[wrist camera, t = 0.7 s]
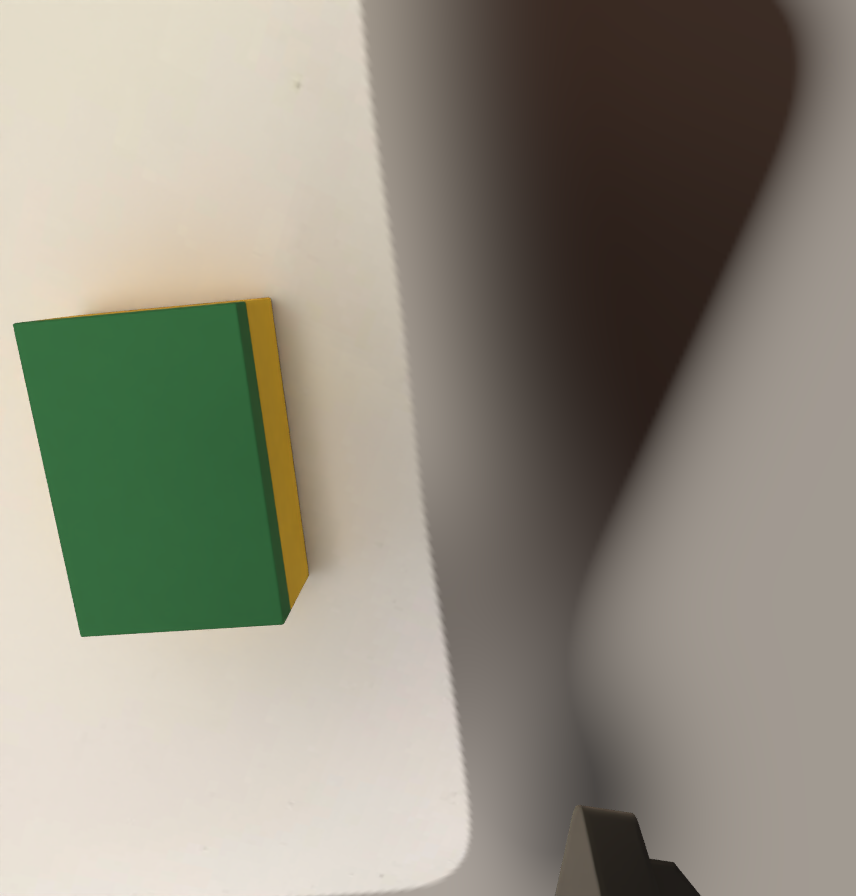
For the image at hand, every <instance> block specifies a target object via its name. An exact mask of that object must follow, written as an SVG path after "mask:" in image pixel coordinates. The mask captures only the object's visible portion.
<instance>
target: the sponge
mask: <svg viewBox="0 0 856 896" xmlns="http://www.w3.org/2000/svg"><path fill="white" fill-rule="evenodd" d="M13 327H14V332H15V337H16V341H17V346H18V350H19V355H20V360H21V364H22V369H23V373H24V378H25V383H26V387H27V392H28V396H29V401H30V405H31V410H32V415H33V419H34V424H35V428H36V433H37V438H38V442H39V447H40V451H41V456H42V461H43V465H44V470H45V474H46V479H47V483H48V488H49V493H50V497H51V502H52V506H53V511H54V516H55V520H56V525H57V529H58V534H59V539H60V543H61V548H62V552H63V557H64V561H65V566H66V571H67V575H68V580H69V584H70V589H71V594H72V598H73V603H74V607H75V612H76V617H77V621H78V626H79V630H80V635H81V637H87V636H104V635H120V634H136V633H153V632H169V631H185V630H202V629H218V628H234V627H251V626H267V625H282V624H284V623H285V621H286V619H287V617H288V615H289V613H290V611H291V609H292V607H293V605H294V603H295V601H296V599H297V597H298V595H299V593H300V591H301V589H302V587H303V585H304V584H305V582H306V580H307V578H308V576H309V572H308V565H307V557H306V550H305V543H304V536H303V529H302V521H301V514H300V507H299V500H298V492H297V485H296V478H295V471H294V463H293V456H292V449H291V442H290V435H289V427H288V420H287V413H286V406H285V398H284V391H283V384H282V377H281V369H280V362H279V355H278V348H277V340H276V333H275V326H274V319H273V312H272V304H271V299H270V298H257V299H247V300H236V301H225V302H215V303H204V304H193V305H183V306H172V307H161V308H151V309H140V310H129V311H119V312H108V313H97V314H87V315H77V316H69V317H61V318H53V319H45V320H37V321H29V322H21V323H15V324H13Z"/></svg>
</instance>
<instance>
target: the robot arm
mask: <svg viewBox="0 0 856 896" xmlns="http://www.w3.org/2000/svg"><path fill="white" fill-rule="evenodd" d="M555 896H700V894H699V893H698V892H697V891H696V889H695V888H694V887H693V886H692V885H691V883H690V882H689V881H688V879H687V878H686V877H685V876H684V875H683V873H682V872H681V871H680V870H679V868H678V867H677V866H676V865H675V863H674V862H668V861H661V860H655V859H649V856H648V853H647V850H646V846H645V843H644V840H643V837H642V834H641V830H640V827H639V824H638V821H637V818H636V817H635V815H634V814H633V813H628V812H621V811H615V810H609V809H602V808H595V807H589V806H582V805H577V806H576V807H575V809H574V811H573V814H572V818H571V823H570V827H569V832H568V837H567V842H566V846H565V851H564V856H563V861H562V865H561V870H560V875H559V879H558V884H557V888H556V894H555Z"/></svg>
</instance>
